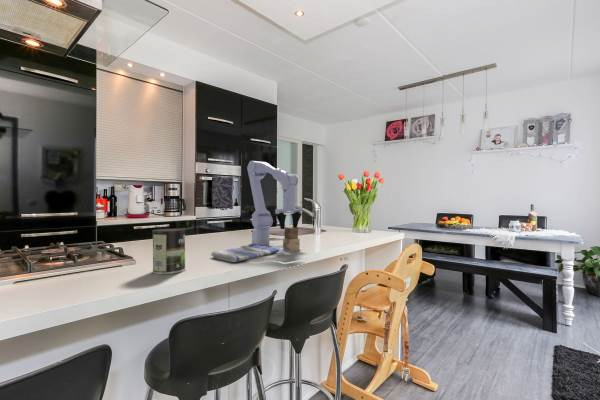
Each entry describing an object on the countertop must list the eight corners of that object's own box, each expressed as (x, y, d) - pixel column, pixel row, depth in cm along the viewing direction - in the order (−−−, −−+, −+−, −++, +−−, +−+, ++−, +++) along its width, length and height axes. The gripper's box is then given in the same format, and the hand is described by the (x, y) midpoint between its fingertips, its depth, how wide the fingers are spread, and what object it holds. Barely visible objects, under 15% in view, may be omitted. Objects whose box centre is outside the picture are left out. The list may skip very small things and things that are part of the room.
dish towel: (209, 257, 126) (209, 251, 126) (254, 248, 143) (254, 242, 143) (234, 263, 114) (233, 256, 114) (279, 253, 131) (279, 246, 131)
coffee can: (188, 266, 109) (187, 227, 109) (181, 274, 99) (181, 230, 99) (157, 268, 108) (157, 228, 108) (148, 275, 97) (147, 231, 97)
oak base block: (282, 248, 142) (282, 238, 142) (291, 247, 146) (291, 237, 146) (290, 250, 138) (290, 239, 138) (299, 249, 142) (299, 238, 142)
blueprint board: (255, 250, 143) (255, 248, 143) (281, 246, 154) (281, 244, 154) (275, 255, 131) (275, 253, 131) (303, 250, 142) (303, 248, 142)
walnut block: (284, 238, 142) (284, 227, 142) (291, 237, 145) (291, 227, 145) (290, 239, 139) (290, 228, 139) (297, 238, 142) (297, 227, 142)
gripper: (282, 199, 135) (282, 230, 136) (306, 199, 145) (305, 228, 145) (272, 199, 141) (272, 229, 141) (296, 199, 150) (296, 227, 151)
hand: (288, 228), depth 143 cm, fingers open, 7 cm apart
